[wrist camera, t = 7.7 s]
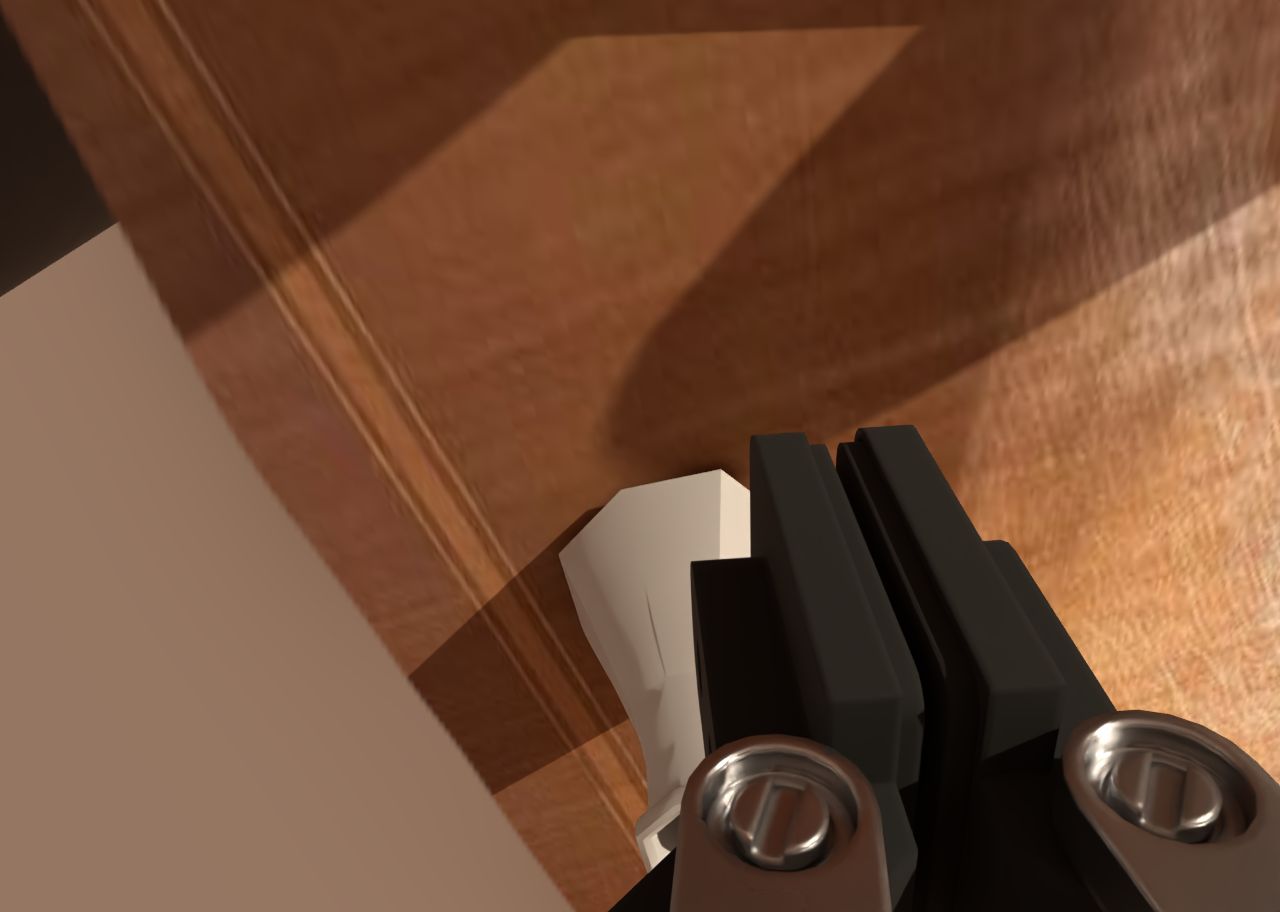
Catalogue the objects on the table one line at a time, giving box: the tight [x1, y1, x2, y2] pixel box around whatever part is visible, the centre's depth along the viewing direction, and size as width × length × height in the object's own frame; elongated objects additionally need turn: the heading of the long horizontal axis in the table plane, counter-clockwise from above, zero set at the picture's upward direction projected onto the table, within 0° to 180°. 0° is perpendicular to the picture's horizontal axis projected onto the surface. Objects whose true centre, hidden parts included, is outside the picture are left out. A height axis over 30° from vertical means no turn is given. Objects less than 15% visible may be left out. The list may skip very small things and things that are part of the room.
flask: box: [558, 469, 751, 873], centre depth 25 cm, size 7×7×10 cm
